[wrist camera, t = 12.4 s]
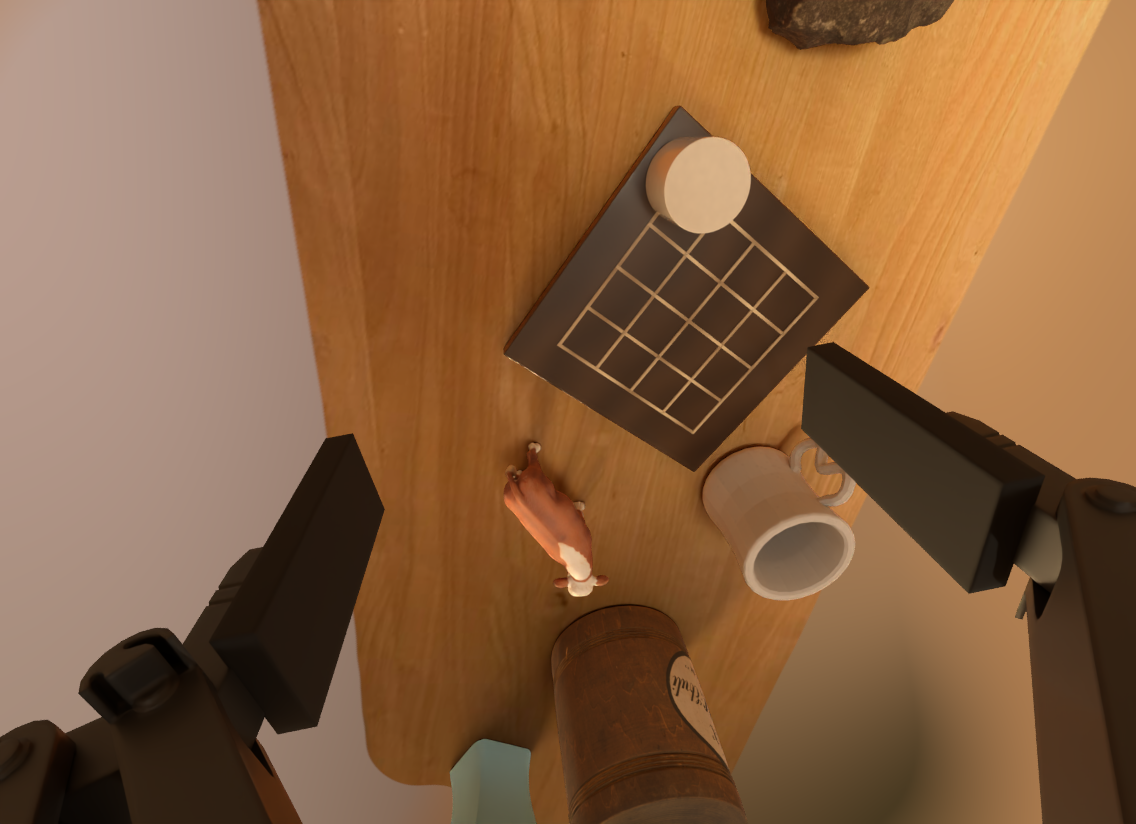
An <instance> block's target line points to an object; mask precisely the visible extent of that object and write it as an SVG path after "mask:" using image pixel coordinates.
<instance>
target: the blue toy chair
mask: <svg viewBox="0 0 1136 824" xmlns="http://www.w3.org/2000/svg"><path fill="white" fill-rule="evenodd" d="M530 755H531V753H530V750H528V749H526V748H522V747H518V746H514V745H510V744H506V743H501V742H497V741H493V740H489V739H482V740H479V741H477V742H475V743H474V744H473V745H472V746H471V747H470V748H469V750H468V751H467V752H466V753H465V754H464V756H463V757H462V758H461V759H460V760H459V761H458V763H457V764H456V765H455V766H454V767H453V769H452V770H451V771H450V777H451V784H452V792H453V812H452V820H451V824H537V823H536V820H535V816H534V813H533V809H532V804H531V799H530V793H529V764H530Z"/></svg>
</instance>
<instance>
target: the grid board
mask: <svg viewBox="0 0 1136 824" xmlns="http://www.w3.org/2000/svg"><path fill="white" fill-rule="evenodd" d="M687 136H696V137H713V136H712V135H711V134H710V133H709V132H707V131H706V130H705V129H704V128H703V127H702V126H701V125H700V124H699V123H698V122H697V121H696V120H695V119H694V118H693V117H692V116H691V115H690V114H689V113H688V112H687V111H686V110H685V109H684V108H683V107H681V106H675V107H674V108H673V110H672V111H671V113H670V114H669V115H668V117H667V118H666V120H665V121H664V122H663V124H662V125H661V127H660V128H659V130H658V131H657V132H656V134H655V135H654V137H653V138H652V139H651V141H650V142H649V144H648V145H647V147H646V148H645V149H644V151H643V152H642V154H641V155H640V156H639V158H638V159H637V161H636V162H635V164H634V165H633V166H632V168H631V169H630V171H629V172H628V173H627V175H626V176H625V178H624V179H623V181H622V182H621V183H620V185H619V186H618V188H617V189H616V190H615V192H614V193H613V195H612V196H611V198H610V199H609V200H608V202H607V203H606V205H605V206H604V207H603V209H602V210H601V212H600V213H599V215H598V216H597V217H596V219H595V220H594V222H593V223H592V224H591V226H590V227H589V229H588V230H587V231H586V233H585V234H584V236H583V237H582V239H581V240H580V241H579V243H578V244H577V246H576V247H575V248H574V250H573V251H572V253H571V254H570V256H569V257H568V258H567V260H566V261H565V263H564V264H563V265H562V267H561V268H560V270H559V271H558V273H557V274H556V275H555V277H554V278H553V280H552V281H551V282H550V284H549V285H548V287H547V288H546V290H545V291H544V292H543V294H542V295H541V297H540V298H539V299H538V301H537V302H536V304H535V305H534V307H533V308H532V309H531V311H530V312H529V314H528V315H527V316H526V318H525V319H524V321H523V322H522V324H521V325H520V326H519V328H518V329H517V331H516V332H515V333H514V335H513V336H512V338H511V339H510V341H509V342H508V343H507V345H506V346H505V348H504V355H505V356H507V357H508V358H510V359H512V360H513V361H515V362H516V363H518V364H520V365H521V366H523V367H525V368H526V369H528V370H529V371H531V372H533V373H534V374H536V375H538V376H539V377H541V378H542V379H544V380H546V381H547V382H549V383H550V384H552V385H554V386H555V387H557V388H559V389H560V390H562V391H563V392H565V393H567V394H568V395H570V396H572V397H573V398H575V399H576V400H578V401H580V402H581V403H583V404H585V405H586V406H588V407H589V408H591V409H593V410H594V411H596V412H598V413H599V414H601V415H602V416H604V417H606V418H607V419H609V420H610V421H612V422H614V423H615V424H617V425H619V426H620V427H622V428H623V429H625V430H627V431H628V432H630V433H632V434H633V435H635V436H636V437H638V438H640V439H641V440H643V441H645V442H646V443H648V444H649V445H651V446H653V447H654V448H656V449H658V450H659V451H661V452H662V453H664V454H666V455H667V456H669V457H671V458H672V459H674V460H675V461H677V462H679V463H680V464H682V465H683V466H685V467H687V468H688V469H690V470H692V471H693V472H695V471H696V470H697V469H698V468H699V467H700V466H701V464H702V463H703V462H704V461H705V460H706V459H707V458H708V457H709V456H710V455H711V454H712V453H713V452H714V451H715V450H716V449H717V448H718V447H719V446H720V444H721V443H722V442H723V441H724V440H725V439H726V438H727V437H728V436H729V435H730V434H731V433H732V432H733V431H734V430H735V429H736V428H737V427H738V426H739V425H740V423H741V422H742V421H743V420H744V419H745V418H746V417H747V416H748V415H749V414H750V413H751V412H752V411H753V410H754V409H755V408H756V407H757V406H758V405H759V403H760V402H761V401H762V400H763V399H764V398H765V397H766V396H767V395H768V394H769V393H770V392H771V391H772V390H773V389H774V388H775V387H776V386H777V385H778V384H779V382H780V381H781V380H782V379H783V378H784V377H785V376H786V375H787V374H788V373H789V372H790V371H791V370H792V369H793V368H794V367H795V366H796V365H797V364H798V362H799V361H800V360H801V359H802V358H803V357H804V356H805V355H806V354H807V347H811V346H815V345H816V344H817V342H818V341H819V340H820V339H821V338H822V337H823V336H824V335H825V334H826V333H827V332H828V331H829V330H830V329H831V328H832V327H833V326H834V325H835V324H836V323H837V321H838V320H839V319H840V318H841V317H842V316H843V315H844V314H845V313H846V312H847V311H848V310H849V309H850V308H851V307H852V306H853V305H854V304H855V303H856V301H857V300H858V299H859V298H860V297H861V296H862V295H863V294H864V293H865V292H866V291H867V290H868V289H869V286H868V285H867V284H866V283H865V282H864V281H863V280H861V279H860V278H859V277H858V276H857V275H856V274H855V273H854V272H853V271H852V270H851V269H850V268H849V267H848V266H847V265H846V264H845V263H844V262H843V261H842V260H841V259H840V258H839V257H838V256H837V255H835V254H834V253H833V252H832V251H831V250H830V249H829V248H828V247H827V246H826V245H825V244H824V243H823V242H822V241H821V240H820V239H819V238H818V237H817V236H816V235H815V234H814V233H813V232H812V231H810V230H809V229H808V228H807V227H806V226H805V225H804V224H803V223H802V222H801V221H800V220H799V219H798V218H797V217H796V216H795V215H794V214H793V213H792V212H791V211H790V210H789V209H788V208H787V207H786V206H784V205H783V204H782V203H781V202H780V201H779V200H778V199H777V198H776V197H775V196H774V195H773V194H772V193H771V192H770V191H769V190H768V189H767V188H766V187H765V186H764V185H763V184H762V183H761V182H760V181H758V180H757V179H756V178H755V177H754V176H753V175H752V174H751V184H750V190H749V194H748V197H747V200H746V202H745V204H744V206H743V208H742V210H741V211H740V212H739V214H738V215H737V216H736V217H735V218H734V219H733V220H732V221H731V222H730V223H729V224H727V225H726V226H725V227H723V228H721V229H719V230H717V231H714V232H710V233H693V232H690V231H687V230H685V229H683V228H681V227H679V226H677V225H675V224H673V223H672V222H670V221H668V220H666V219H664V218H662V217H661V216H659V215H658V214H657V213H656V212H655V211H654V209H653V208H652V206H651V205H650V203H649V200H648V197H647V193H646V176H647V171H648V168H649V165H650V163H651V161H652V159H653V158H654V156H655V155H656V153H657V152H658V151H659V150H660V149H661V148H662V147H663V146H664V145H666V144H667V143H668V142H670V141H672V140H674V139H677V138H680V137H687Z"/></svg>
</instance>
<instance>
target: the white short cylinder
mask: <svg viewBox="0 0 1136 824" xmlns="http://www.w3.org/2000/svg"><path fill="white" fill-rule="evenodd" d="M750 184H751V173H750V167H749V163H748V161H747V158H746V156H745V155H744V153H743V152H742V150H741V149H740V148H739V147H738V146H737V145H736V144H734V143H733V142H731V141H730V140H727V139H725V138H720V137H696V136H687V137H680V138H677V139H674V140H672V141H670V142H668V143H667V144H666V145H664V146H663V147H662V148H661V149H660V150H659V151H658V152H657V153H656V155H655V156H654V158H653V159H652V161H651V163H650V165H649V168H648V171H647V176H646V193H647V197H648V200H649V203H650V205H651V206H652V208H653V209H654V211H655V212H656V213H657V214H658V215H659V216H661V217H662V218H664V219H666V220H668V221H670V222H672V223H673V224H675V225H677V226H679V227H681V228H683V229H685V230H687V231H690V232H693V233H710V232H714V231H717V230H719V229H721V228H723V227H725V226H726V225H727V224H729V223H730V222H731V221H732V220H733V219H734V218H735V217H736V216H737V215H738V214H739V212H740V211H741V210H742V208H743V206H744V204H745V202H746V200H747V197H748V194H749V190H750Z"/></svg>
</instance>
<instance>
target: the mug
mask: <svg viewBox="0 0 1136 824" xmlns="http://www.w3.org/2000/svg"><path fill="white" fill-rule="evenodd" d="M812 448H817V451H816V456H815V467H816V470H817V472H818V473H820V474H824V475H830V474H837V473H841V474H842V484H841V487H840V489H839V491H838V492H837V493H835V494H832V495H825V496H822V497H819V496H818V495H817V494H816V493H815V492H814V490H813V489H812V488H811V487H810V486H809V484H808V483H807V482H806V480H805V478H804V477H803V475H802V474H801V472H800V471H801V457H802V455H803V453H804V452H806V451H807V450H809V449H812ZM827 460H828V455H827V454H826V453H825V452H824V451H823V450H822V449H821V448H820V447H819V446H818V445H817V444H816V443H815V442H814V441H813V440H812V439H811V438H808V439H804V440H802V441H801V442H799V443H798V444H796V446H795V447H794V449H793V450H792V451H791V455H790V457H788V456H787V455H786V454H784V453H783V452H782V451H780V450H777V449H774V448H771V447H759V446H758V447H752V448H745V449H743V450H740V451H738V452H735V453H733V454H731V455H730V456H728V457H726V458H725V459H723V460H722V461H721V462H720V463H719V464H718V465H717V466H716V467H715V468H714V469H713V470H712V471H711V473H710V474H709V476H708V477H707V479H706V482H705V485H704V488H703V503H704V506H705V509H706V512H707V514H708V515H709V517H710V518H711V519H712V521H713V522H714V523H715V524H716V526H717V527H718V528H719V530H720V531H721V532H722V534H723V535H724V537H725V539H726V540H727V542H728V544H729V545H730V547H731V549H732V550H733V552H734V554H735V556H736V558H737V561H738V563H739V566H740V569H741V571H742V574H743V577H744V579H745V582H746V583H747V584H748V586H749V587H750V588H751V589H752V590H753V591H754V592H755V593H757V594H759V595H760V596H762V597H765V598H769V599H773V600H792V599H798V598H803V597H805V596H808V595H811V594H814V593H816V592H818V591H820V590H821V589H823V588H825V587H827V586H828V585H829V584H831V583H832V582H833V581H834V580H836V579H837V578H838V577H839V576H840V575H841V574H842V573H843V571H844V570H845V569H846V568H847V566H848V564H849V563H850V561H851V559H852V557H853V553H854V549H855V539H854V533H853V532H852V530H851V528H850V527H849V525H848V524H847V523H846V522H845V521H844V520H843V519H842V518H841V517H840V516H839V515H837V514H836V513H835V512H834V511H833V510H832V509H830V508H829V507H828V506H838V505H841V504H843V503H845V502H847V500H848V499H849V498H850V497H851V495H852V494H853V491H854V488H855V484H856V482H855V481H854V480H853V479H852V478H851V477H850V476H849V475H848V474H847V473H846V472H845V471H844V470H843V469H842V468H841V467H840V466H839V465H838V464H837V463H836V462H831V463H827Z"/></svg>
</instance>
